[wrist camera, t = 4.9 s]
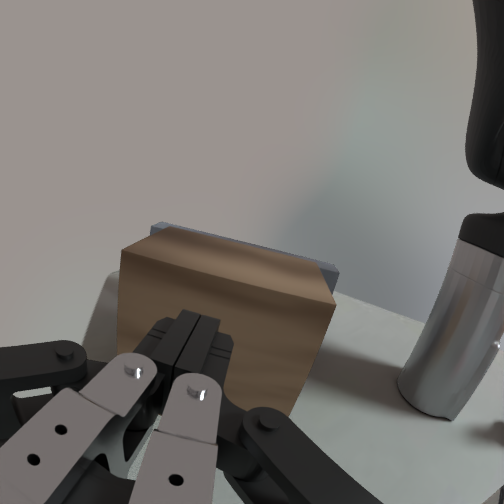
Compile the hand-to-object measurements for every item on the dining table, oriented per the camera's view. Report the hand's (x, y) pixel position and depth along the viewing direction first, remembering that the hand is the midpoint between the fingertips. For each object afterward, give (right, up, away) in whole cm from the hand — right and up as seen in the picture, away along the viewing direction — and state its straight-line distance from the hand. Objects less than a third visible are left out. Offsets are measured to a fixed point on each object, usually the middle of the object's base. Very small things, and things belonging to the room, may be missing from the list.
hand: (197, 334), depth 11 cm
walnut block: (-2, -8, +11) cm, 14 cm away
